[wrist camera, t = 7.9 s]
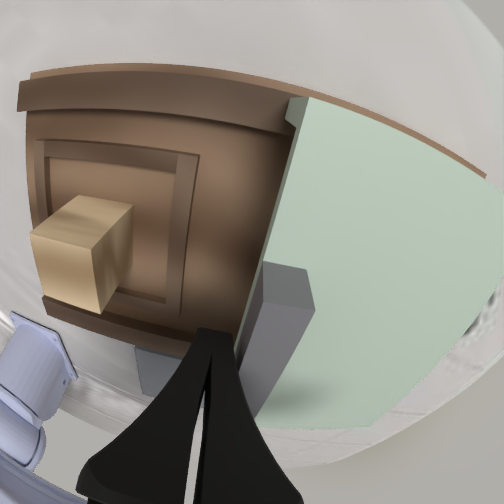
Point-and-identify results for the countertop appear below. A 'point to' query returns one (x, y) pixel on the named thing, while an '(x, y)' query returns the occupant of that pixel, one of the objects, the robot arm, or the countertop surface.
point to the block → (84, 251)
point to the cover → (363, 271)
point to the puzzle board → (168, 184)
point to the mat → (156, 369)
